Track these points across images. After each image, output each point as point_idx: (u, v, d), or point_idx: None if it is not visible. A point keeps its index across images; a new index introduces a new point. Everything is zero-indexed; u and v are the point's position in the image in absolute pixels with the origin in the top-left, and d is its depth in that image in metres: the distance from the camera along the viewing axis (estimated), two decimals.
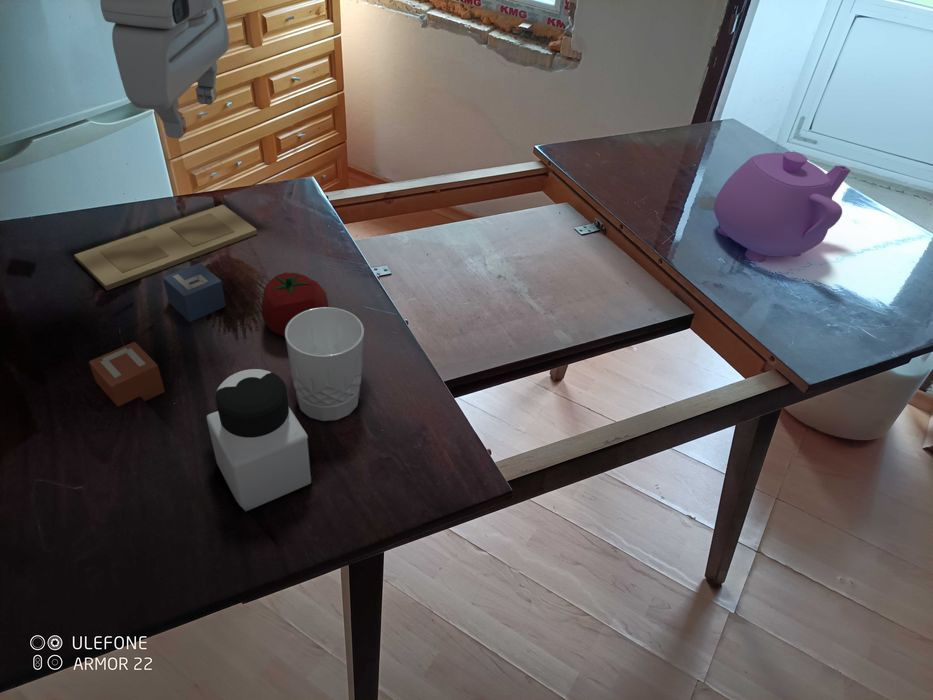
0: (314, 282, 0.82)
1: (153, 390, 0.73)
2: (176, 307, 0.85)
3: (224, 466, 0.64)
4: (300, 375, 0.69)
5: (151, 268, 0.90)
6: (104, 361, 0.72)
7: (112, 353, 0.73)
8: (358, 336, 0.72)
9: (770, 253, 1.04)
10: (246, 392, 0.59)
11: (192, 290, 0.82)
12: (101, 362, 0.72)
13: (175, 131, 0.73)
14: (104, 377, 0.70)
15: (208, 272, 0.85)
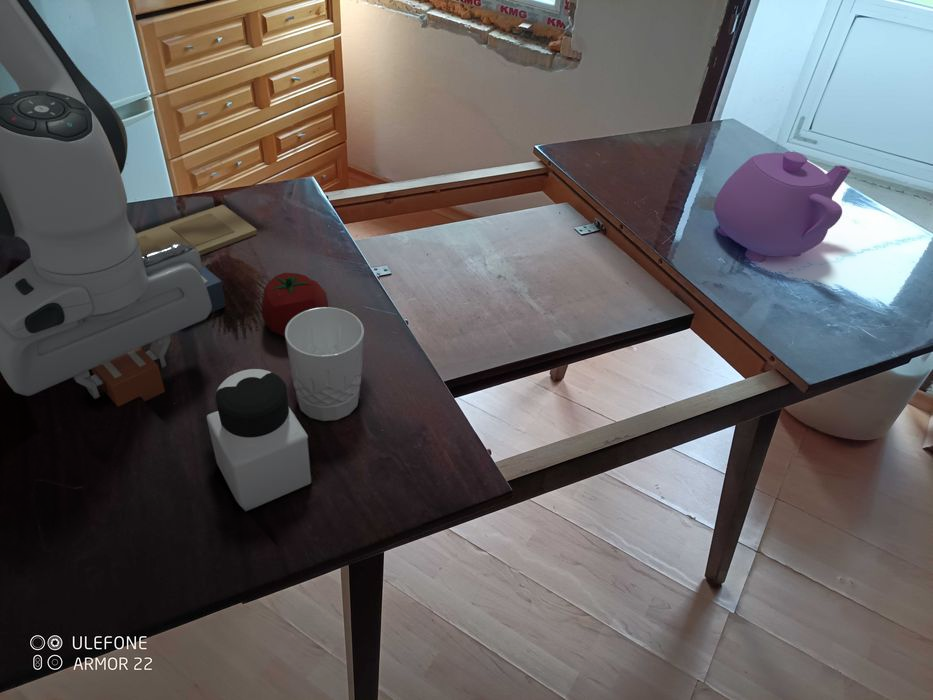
0: (314, 282, 0.82)
1: (153, 390, 0.73)
2: None
3: (224, 466, 0.64)
4: (300, 375, 0.69)
5: None
6: None
7: None
8: (358, 336, 0.72)
9: (770, 253, 1.04)
10: (246, 392, 0.59)
11: None
12: None
13: (91, 392, 0.71)
14: (104, 376, 0.70)
15: (208, 272, 0.85)
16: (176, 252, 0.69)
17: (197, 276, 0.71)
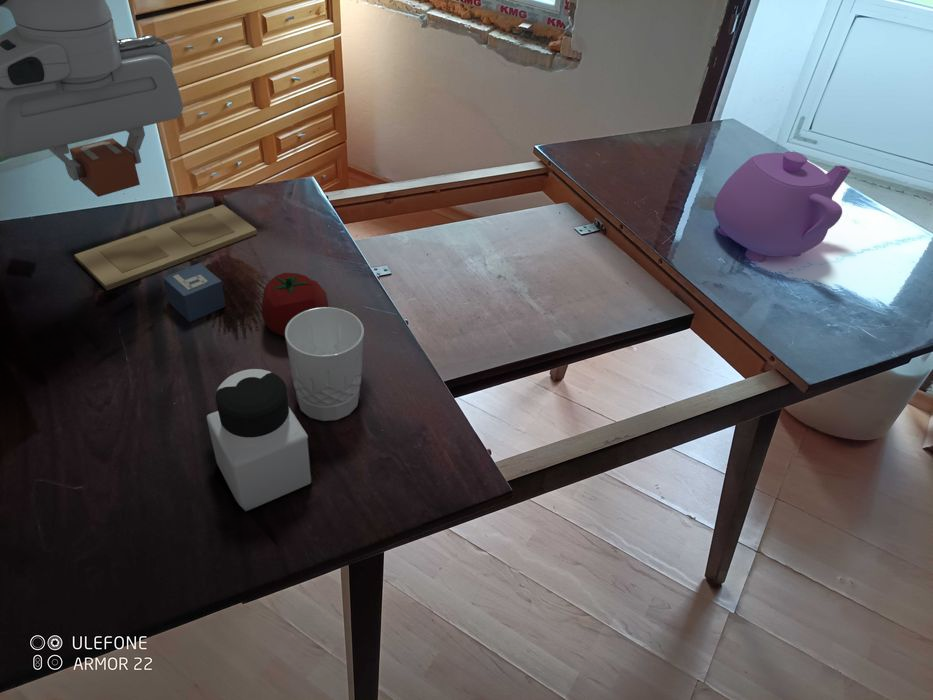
0: (314, 282, 0.82)
1: (129, 180, 0.80)
2: (176, 307, 0.85)
3: (224, 466, 0.64)
4: (300, 375, 0.69)
5: (151, 268, 0.90)
6: (84, 148, 0.78)
7: (91, 144, 0.79)
8: (358, 336, 0.72)
9: (770, 253, 1.04)
10: (246, 392, 0.59)
11: (192, 290, 0.82)
12: (81, 149, 0.78)
13: (71, 173, 0.77)
14: (83, 158, 0.77)
15: (208, 272, 0.85)
16: (148, 42, 0.76)
17: (168, 69, 0.78)
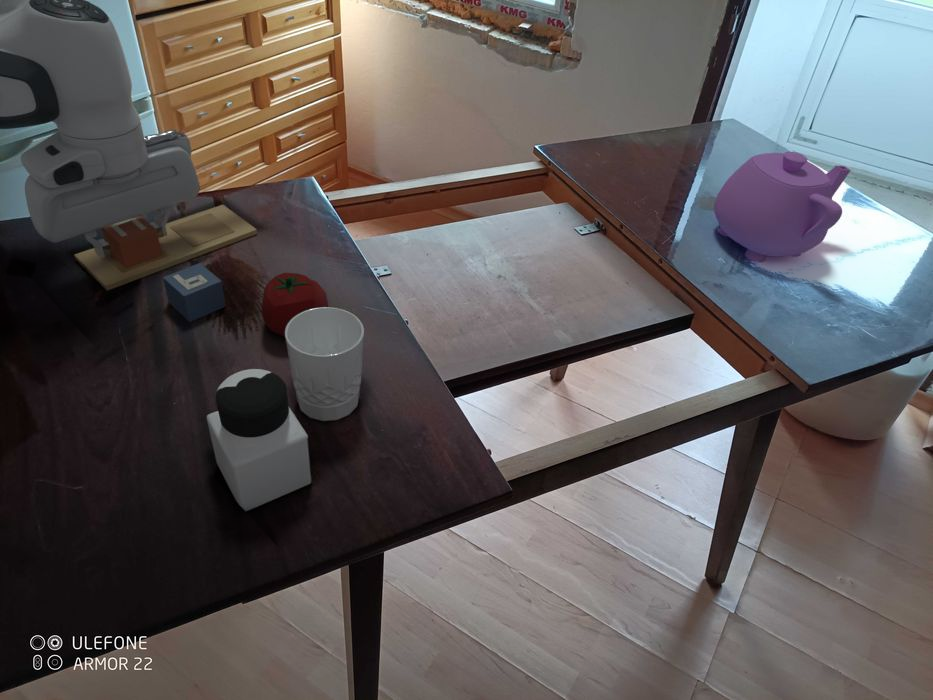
0: (314, 282, 0.82)
1: (153, 252, 0.91)
2: (176, 307, 0.85)
3: (224, 466, 0.64)
4: (300, 375, 0.69)
5: (151, 268, 0.90)
6: (113, 225, 0.89)
7: None
8: (358, 336, 0.72)
9: (770, 253, 1.04)
10: (246, 392, 0.59)
11: (192, 290, 0.82)
12: (111, 226, 0.89)
13: (98, 252, 0.88)
14: (113, 235, 0.88)
15: (208, 272, 0.85)
16: (170, 136, 0.87)
17: (187, 158, 0.89)
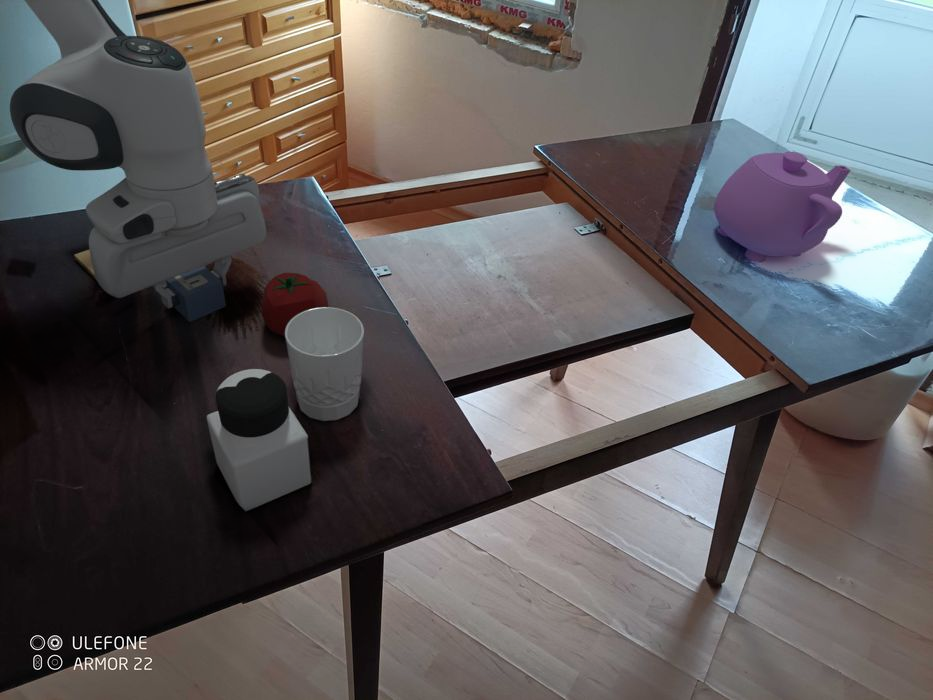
0: (314, 282, 0.82)
1: None
2: (176, 307, 0.85)
3: (224, 466, 0.64)
4: (300, 375, 0.69)
5: None
6: None
7: None
8: (358, 336, 0.72)
9: (770, 253, 1.04)
10: (246, 392, 0.59)
11: (193, 290, 0.82)
12: None
13: (165, 302, 0.82)
14: None
15: (208, 272, 0.85)
16: (240, 181, 0.81)
17: (256, 203, 0.83)
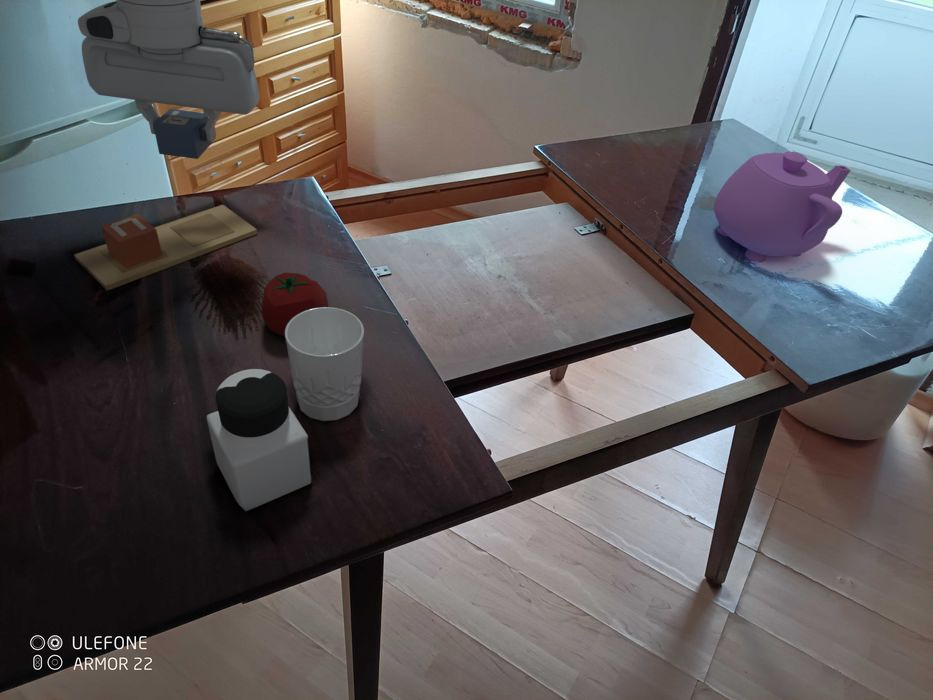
0: (314, 282, 0.82)
1: (153, 252, 0.91)
2: None
3: (224, 466, 0.64)
4: (300, 375, 0.69)
5: (151, 268, 0.90)
6: (113, 225, 0.89)
7: (119, 221, 0.90)
8: (358, 336, 0.72)
9: (770, 253, 1.04)
10: (246, 392, 0.59)
11: (164, 124, 0.85)
12: (111, 226, 0.89)
13: None
14: (113, 235, 0.88)
15: (197, 120, 0.86)
16: (228, 37, 0.79)
17: (237, 67, 0.80)
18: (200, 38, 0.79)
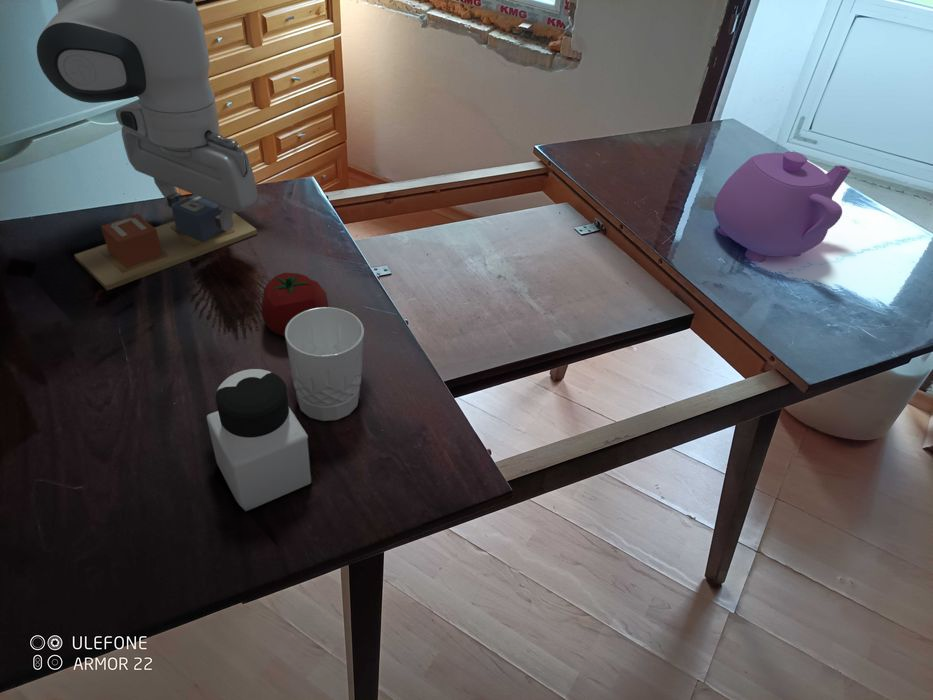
0: (314, 282, 0.82)
1: (153, 252, 0.91)
2: None
3: (224, 466, 0.64)
4: (300, 375, 0.69)
5: (151, 268, 0.90)
6: (113, 225, 0.89)
7: (119, 221, 0.90)
8: (358, 336, 0.72)
9: (770, 253, 1.04)
10: (246, 392, 0.59)
11: (180, 207, 0.94)
12: (111, 226, 0.89)
13: None
14: (113, 235, 0.88)
15: (210, 209, 0.94)
16: (226, 144, 0.85)
17: (229, 171, 0.86)
18: (207, 140, 0.87)
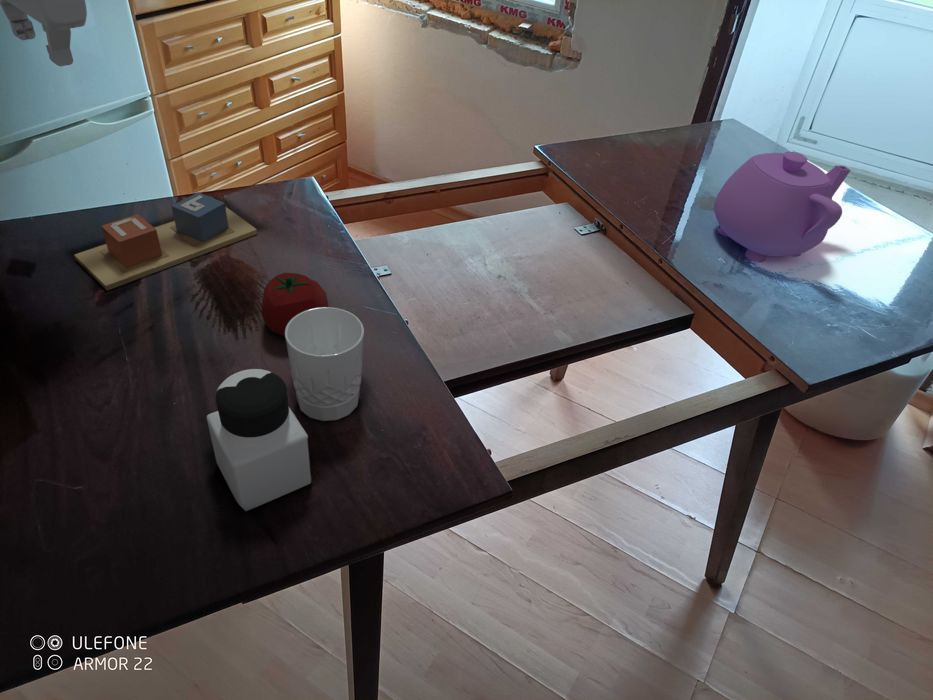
0: (314, 282, 0.82)
1: (153, 252, 0.91)
2: None
3: (224, 466, 0.64)
4: (300, 375, 0.69)
5: (151, 268, 0.90)
6: (113, 225, 0.89)
7: (119, 221, 0.90)
8: (358, 336, 0.72)
9: (770, 253, 1.04)
10: (246, 392, 0.59)
11: (180, 207, 0.94)
12: (111, 226, 0.89)
13: (65, 57, 0.71)
14: (113, 235, 0.88)
15: (210, 209, 0.94)
16: None
17: None
18: None
